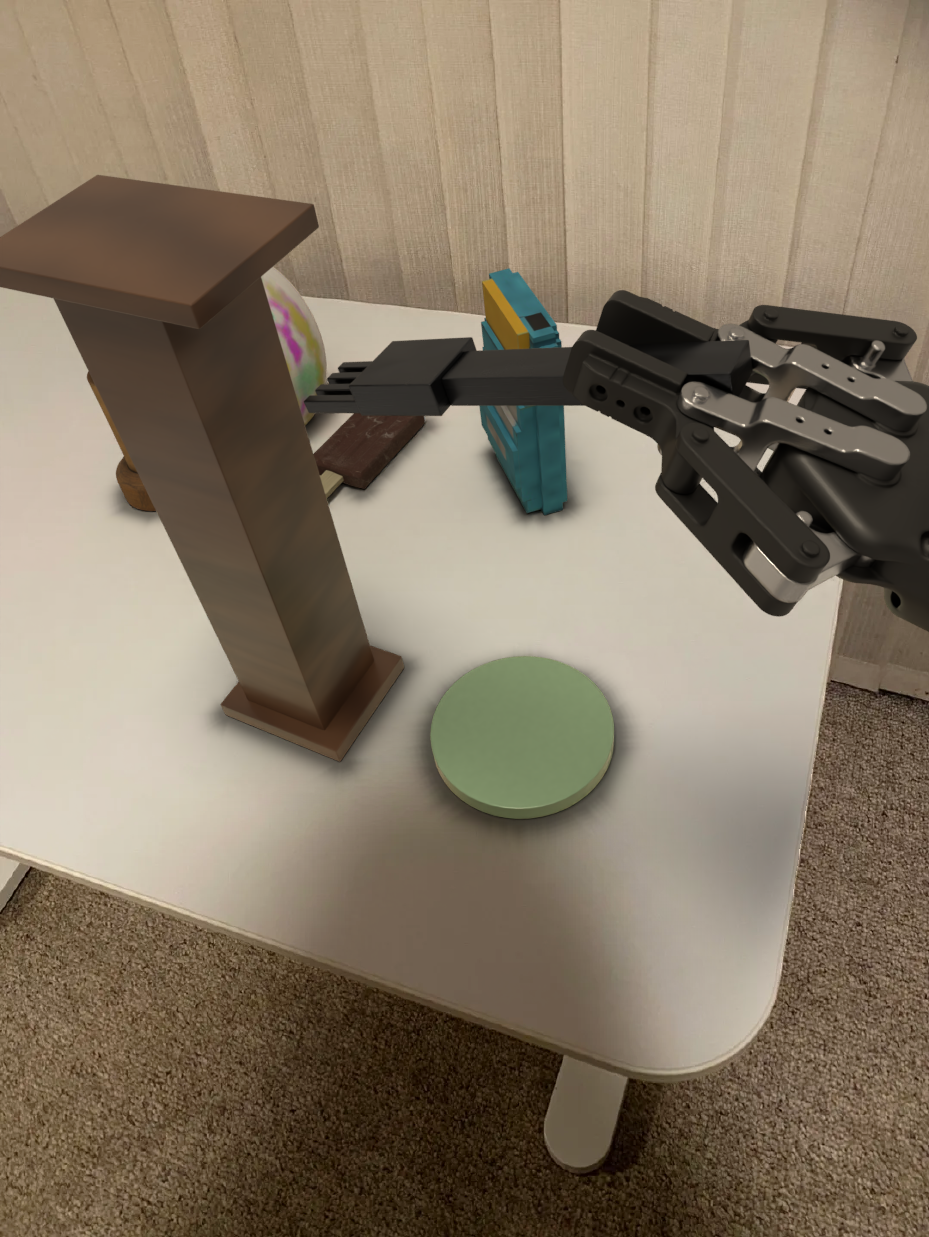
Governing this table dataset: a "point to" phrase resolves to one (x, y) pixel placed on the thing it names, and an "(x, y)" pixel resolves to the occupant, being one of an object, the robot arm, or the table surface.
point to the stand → (215, 431)
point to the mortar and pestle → (125, 465)
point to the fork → (497, 376)
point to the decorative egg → (297, 337)
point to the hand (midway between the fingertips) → (589, 338)
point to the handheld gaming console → (524, 432)
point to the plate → (522, 737)
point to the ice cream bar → (363, 449)
